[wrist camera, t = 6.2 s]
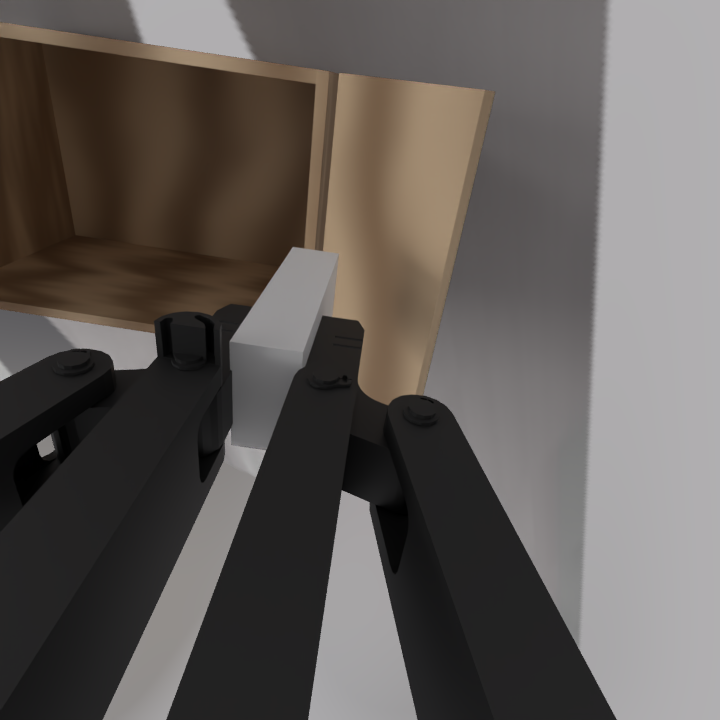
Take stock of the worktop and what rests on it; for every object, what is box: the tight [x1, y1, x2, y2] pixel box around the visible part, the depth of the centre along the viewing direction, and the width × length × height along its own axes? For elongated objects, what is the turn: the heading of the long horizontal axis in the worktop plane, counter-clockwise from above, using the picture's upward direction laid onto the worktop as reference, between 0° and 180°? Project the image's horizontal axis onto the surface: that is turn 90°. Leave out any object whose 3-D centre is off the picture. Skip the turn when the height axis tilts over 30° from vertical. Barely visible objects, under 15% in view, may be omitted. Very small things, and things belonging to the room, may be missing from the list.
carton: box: [0, 22, 339, 333], centre depth 27 cm, size 20×13×12 cm, turn 83°
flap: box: [323, 73, 495, 405], centre depth 19 cm, size 8×13×1 cm
